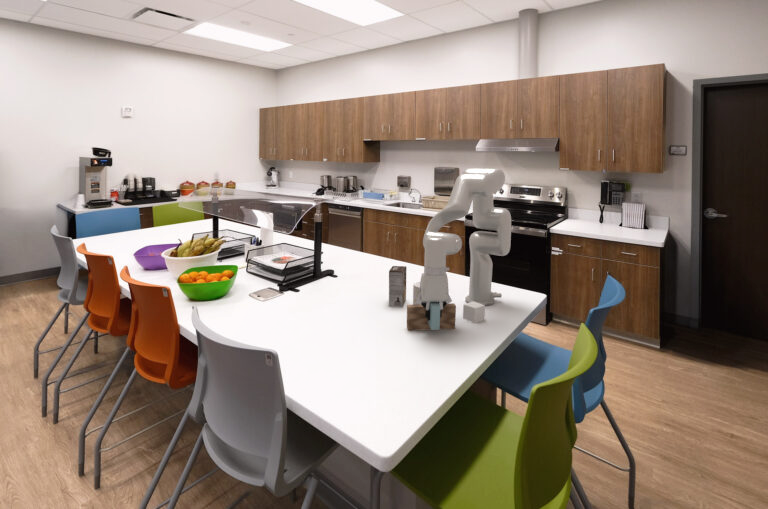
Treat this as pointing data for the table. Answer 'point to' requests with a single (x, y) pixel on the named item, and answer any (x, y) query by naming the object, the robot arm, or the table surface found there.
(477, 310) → the white cube
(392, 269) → the coffee box
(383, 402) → the table surface
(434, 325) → the teal slotted board
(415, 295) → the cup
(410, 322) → the walnut slotted board
